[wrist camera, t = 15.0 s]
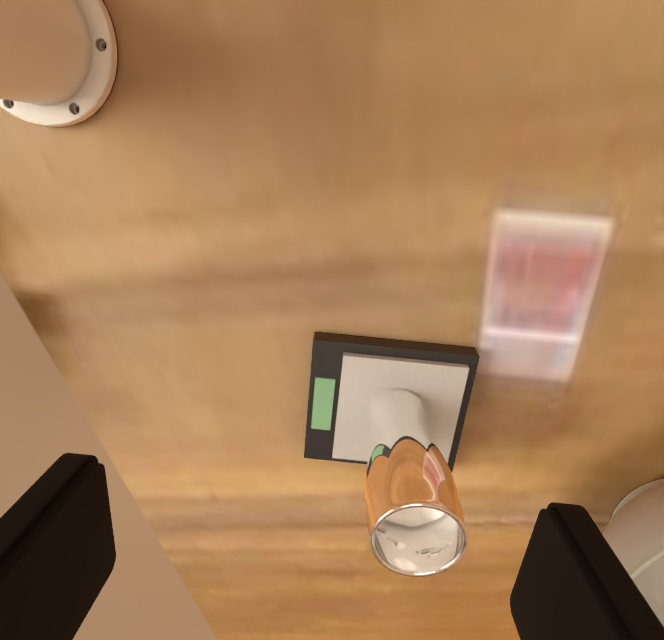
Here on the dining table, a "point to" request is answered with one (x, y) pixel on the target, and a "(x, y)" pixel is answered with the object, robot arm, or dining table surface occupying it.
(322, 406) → the scale
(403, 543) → the beer glass
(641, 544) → the decorative bowl
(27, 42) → the robot arm
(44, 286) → the dining table surface
